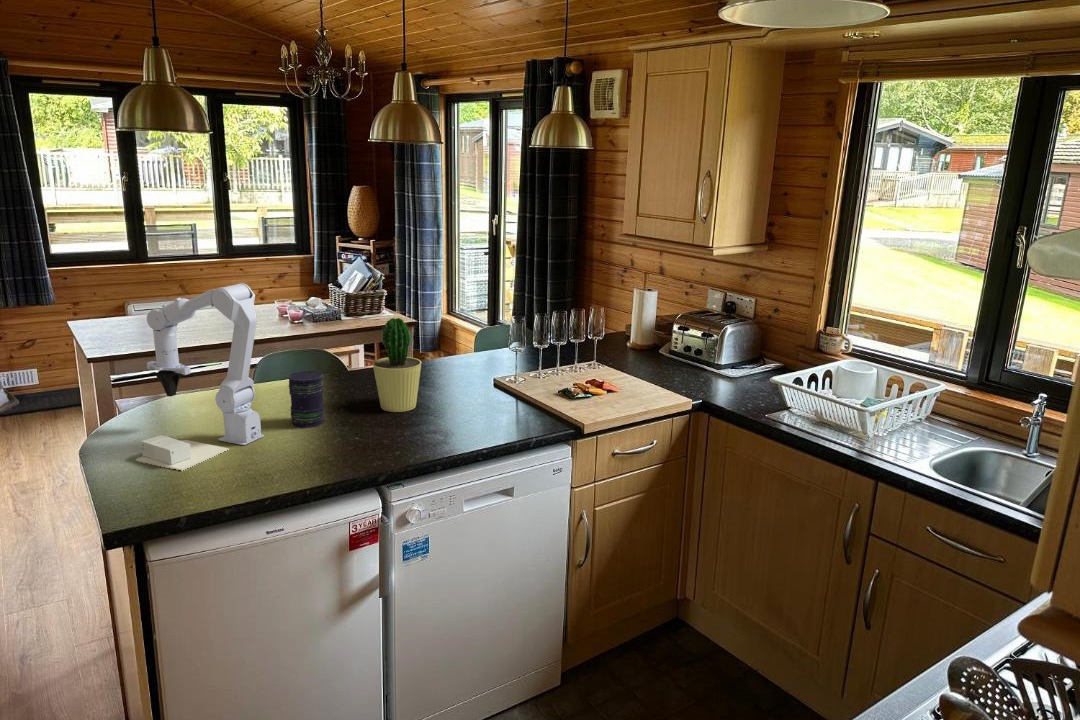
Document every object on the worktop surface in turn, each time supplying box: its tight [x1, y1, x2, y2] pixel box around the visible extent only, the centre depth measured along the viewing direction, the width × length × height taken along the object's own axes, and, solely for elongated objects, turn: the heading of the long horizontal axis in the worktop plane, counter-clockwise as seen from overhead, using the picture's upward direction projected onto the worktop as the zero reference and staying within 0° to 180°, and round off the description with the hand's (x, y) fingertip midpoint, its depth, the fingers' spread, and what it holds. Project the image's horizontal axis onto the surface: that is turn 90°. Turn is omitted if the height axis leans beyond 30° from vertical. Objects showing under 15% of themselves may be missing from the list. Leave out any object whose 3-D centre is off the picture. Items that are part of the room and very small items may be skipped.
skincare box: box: [140, 434, 191, 465], centre depth 197 cm, size 6×4×12 cm
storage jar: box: [288, 370, 326, 429], centre depth 225 cm, size 10×10×15 cm
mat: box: [135, 439, 230, 472], centre depth 200 cm, size 16×16×1 cm
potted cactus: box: [372, 317, 422, 413], centre depth 240 cm, size 15×15×30 cm
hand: (171, 395), depth 216 cm, fingers closed
